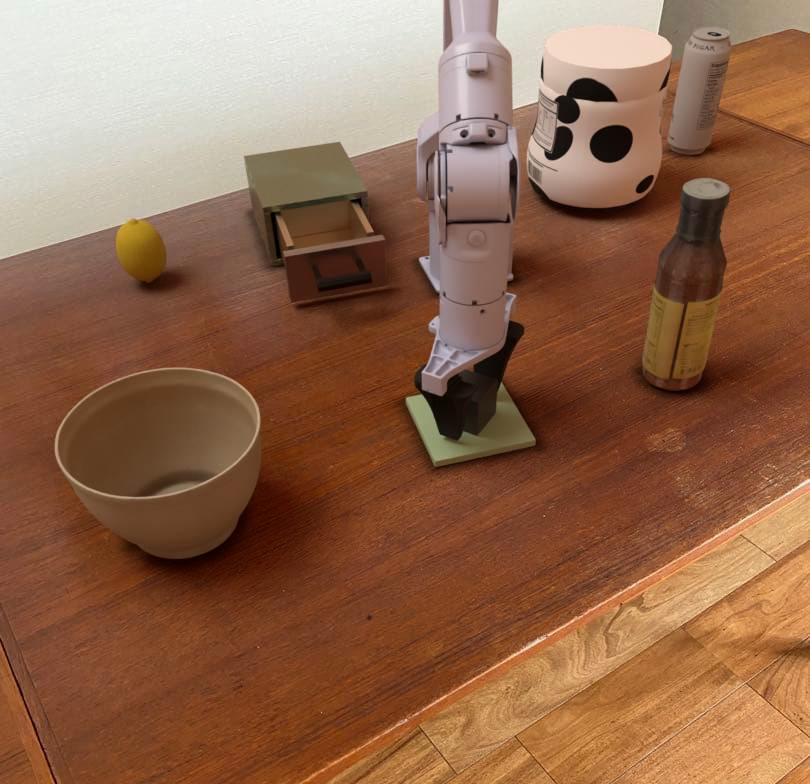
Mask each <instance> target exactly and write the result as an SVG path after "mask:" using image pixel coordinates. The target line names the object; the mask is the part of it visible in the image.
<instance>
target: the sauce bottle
mask: <svg viewBox="0 0 810 784" xmlns="http://www.w3.org/2000/svg"><path fill="white" fill-rule="evenodd" d="M730 195H731V187H730V186H729V184H727V183H726V182H723V181H722V180H718V179H716V178H711V177H700V178H694V179H691V180H689V181H687V182H685V183H684V184H683V185H682V188H681V193H680V198H679V203H680V210H679V211H680V212H679V217H678V223H677V225H676V227H675V233H674V235H673V236H672V237H671V238H670V240H669V241H668V242H667V244H665V246H664V247H663V248H662V249H661V251H660V253H659V255H658V263H657V271H656V276H655V280H654V283H653V290H652V296H651V301H650V308H649V315H648V322H647V327H646V333H645V340H644V345H643V351H642V356H641V357H642V359H641V361H642V364H641V368H642V373H643V376H644V379H645V380H646V381H647V383H648V384H649V385H652V386H654V387H656V388H658V389H662V390H665V391H669V392H679V391H686V390H690V389H691V388H694V387H695V386H697V384H698V383H699V382H700V380H701V379H702V376H703V373H704V370H705V367H706V365H707V361H708V356H709V352H710V351H709V350H710V347H711V343H712V338H713V333H714V328H715V325H716V319H717V315H718V310H719V306H720V301H721V297H722V293H723V286H724V285H723V283H724V276H725V273H726V268H727V265H728V260H727V257H726V254H725V250H724V247H723V244H722V239H721V233H722V229H721V228H722V223H723V219H724V215H725V210H726V208H727V207H728V205H729V203H730V198H731V197H730Z"/></svg>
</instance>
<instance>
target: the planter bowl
mask: <svg viewBox="0 0 810 784" xmlns="http://www.w3.org/2000/svg"><path fill="white" fill-rule="evenodd" d="M55 434H56V435H55V439H54V455H55V460H56V461H57V464H58V466H59V469H60V470H61V472H62V473H63V475H64V477H65V478H66V480H67V481H68V482H69V483H70V485H71V487H72V489H73V491H74V492H75V494H76V496H77V497H78V499H79V500H80V502H81V504H83V505H84V507H85V508H86V510H88V512H89V513H90V514H91V515H92V516H93V517H94V518H95V519H96V520H97V521H98V522H99V523H101V524H102V525H103V526H104V527H105V528H106V529H108V530H109V531H111V532H112V533H114V534H115V535H117V536H119V537H120V538H122V539H124V540H125V541H128V542H129V543H132V544H134V545H137V546H138V547H139V548H140V549H141V550H143V551H144V552H145V553H147V554H149V555H152V556H155V557H156V558H162V559H168V560H181V559H190V558H194V557H197V556H200V555H203V554H206V553H208V552H210V551H213V550H214V549H216V548H217V547H219V546H220V545H222V544H223V543H224V542H225V541H227V539H228V538H229V537H230V536H231V534H233V532H234V531H235V529H236V528H237V525H238V522H239V519H240V516H241V515H242V513H243V512H244V510H245V509H246V507H247V505H248V504H249V502H250V500H251V498H252V496H253V494H254V491H255V488H256V486H257V483H258V479H259V477H260V470H261V469H260V468H261V465H262V439H261V434H262V417H261V411H260V408H259V405H258V403H257V401H256V399H255V398H254V396H253V395H252V393H250V391H249V390H247V389H246V388H245V387H244V386H243V385H242V384H240V383H239V382H237V381H236V380H235V379H232V378H231V377H228V376H226V375H223V374H220V373H218V372H213V371H211V370H205V369H199V368H192V367H160V368H155V369H154V368H153V369H149V370H143V371H139V372H134V373H131V374H129V375H125V376H123V377H120V378H117V379H115V380H113V381H109V382H108V383H106V384H104V385H102V386H100V387H98V388H96V389H95V390H93V391H91V392H90V393H89V394H87V395H86V396H85V397H83V398H82V399H81V400H80V401H79V402H77V404H75V406H73V407H72V409H71V410H70V411H69V412H68V413H67V414H66V415H65V417H64V418H63V420H62V422H61V423H60V424H59V427H58V429H57V432H56V433H55Z"/></svg>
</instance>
